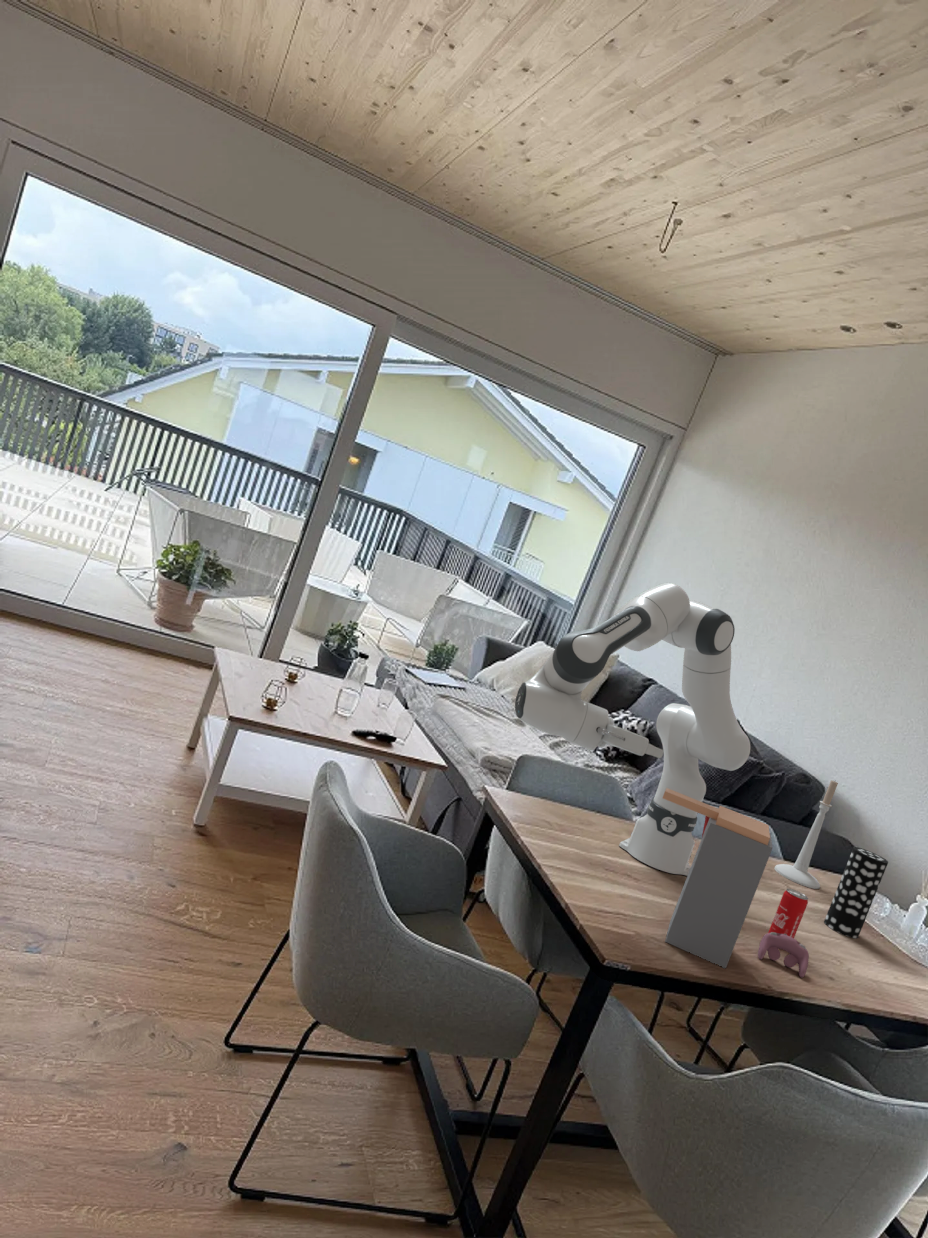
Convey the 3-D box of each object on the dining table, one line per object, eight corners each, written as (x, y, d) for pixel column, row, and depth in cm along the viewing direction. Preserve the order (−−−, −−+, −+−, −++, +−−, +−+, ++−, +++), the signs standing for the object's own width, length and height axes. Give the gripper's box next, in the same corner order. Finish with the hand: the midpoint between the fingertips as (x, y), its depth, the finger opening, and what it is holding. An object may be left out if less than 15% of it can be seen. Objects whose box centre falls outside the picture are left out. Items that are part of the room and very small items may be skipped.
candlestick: (799, 871, 279) (836, 776, 276) (828, 892, 267) (868, 793, 264) (765, 863, 274) (803, 767, 271) (793, 884, 262) (833, 783, 259)
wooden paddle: (665, 791, 197) (668, 784, 197) (765, 832, 191) (768, 825, 191) (660, 801, 185) (663, 794, 185) (767, 845, 180) (770, 838, 180)
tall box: (670, 921, 197) (712, 810, 195) (726, 946, 194) (770, 833, 191) (665, 941, 184) (710, 822, 182) (725, 969, 181) (772, 848, 179)
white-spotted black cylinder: (843, 937, 229) (874, 860, 227) (817, 919, 236) (846, 845, 234) (865, 939, 233) (895, 864, 231) (838, 922, 240) (867, 849, 238)
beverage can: (791, 953, 203) (811, 902, 202) (767, 944, 204) (787, 893, 203) (787, 944, 208) (807, 894, 207) (764, 935, 209) (783, 885, 208)
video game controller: (800, 980, 194) (811, 947, 196) (805, 978, 190) (815, 945, 192) (753, 959, 197) (763, 927, 199) (756, 957, 192) (767, 924, 195)
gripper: (610, 715, 181) (676, 741, 182) (586, 709, 202) (645, 733, 203) (598, 747, 181) (664, 772, 182) (575, 737, 201) (635, 761, 202)
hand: (654, 751), depth 193 cm, fingers open, 8 cm apart
